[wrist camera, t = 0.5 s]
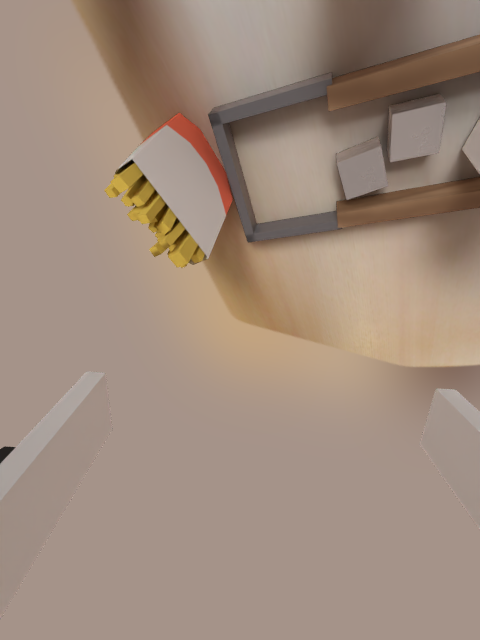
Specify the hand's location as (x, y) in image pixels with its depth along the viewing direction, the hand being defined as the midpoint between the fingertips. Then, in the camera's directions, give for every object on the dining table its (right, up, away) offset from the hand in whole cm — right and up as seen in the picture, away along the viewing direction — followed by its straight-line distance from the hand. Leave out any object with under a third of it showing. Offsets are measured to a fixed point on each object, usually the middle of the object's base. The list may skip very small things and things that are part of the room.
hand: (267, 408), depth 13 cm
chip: (+13, +22, +24) cm, 35 cm away
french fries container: (-6, +24, +27) cm, 37 cm away
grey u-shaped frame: (+4, +22, +26) cm, 34 cm away
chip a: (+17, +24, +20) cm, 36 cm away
